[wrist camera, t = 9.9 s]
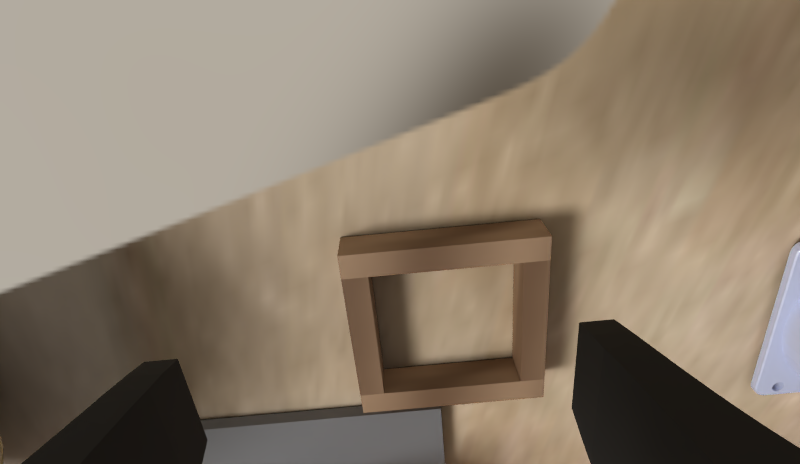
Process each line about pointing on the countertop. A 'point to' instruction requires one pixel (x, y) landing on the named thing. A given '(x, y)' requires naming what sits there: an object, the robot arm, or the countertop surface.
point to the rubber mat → (328, 437)
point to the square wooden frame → (449, 251)
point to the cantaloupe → (1, 451)
